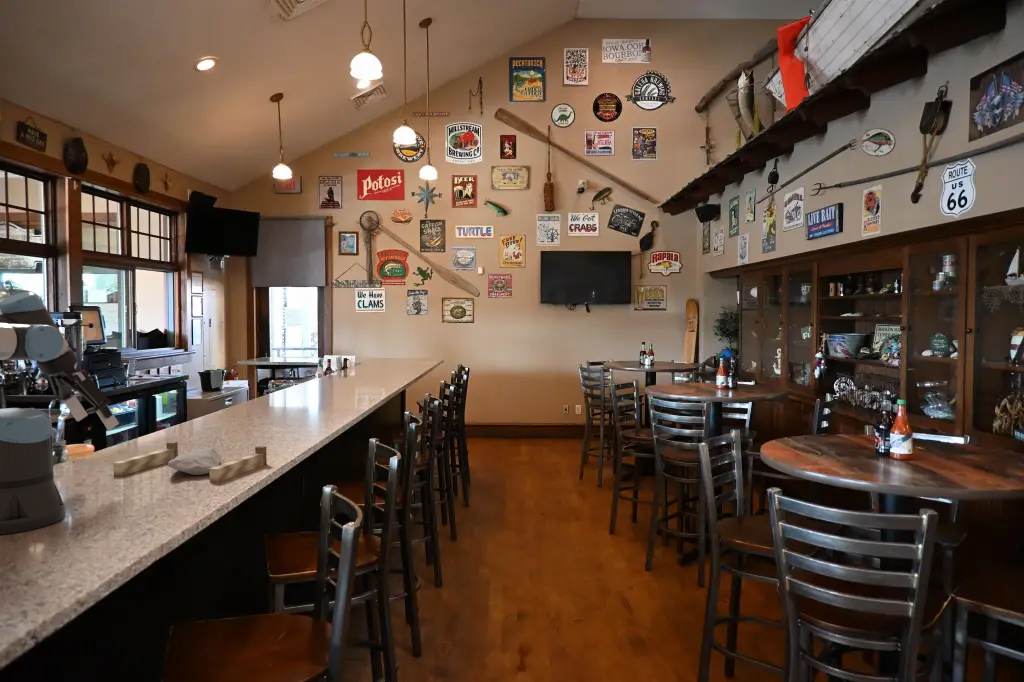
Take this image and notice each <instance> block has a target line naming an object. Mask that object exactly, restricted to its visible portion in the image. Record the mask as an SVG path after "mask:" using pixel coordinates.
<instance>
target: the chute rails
mask: <svg viewBox="0 0 1024 682" xmlns="http://www.w3.org/2000/svg"><path fill="white" fill-rule="evenodd" d="M165 444H166V448H164V449H163V448H162V449H160V450H156V451H151V452H148V453H145V454H144V453H143V454H141V455H136V456H134V457H130V458H125V459H121V460H119V461H114V462H113V463H112V464H113V465H112V467H113V476H115V477H122V476H123V477H124V476H126V475H130V474H132V473H136V472H139V471H144V470H146V469H149V468H153V467H156V466H159V465H163V464H166V463H167V464H168V462H169V461H171V460H172V459H175V458H176V457H177V456H179V450H178V449H179V447H178V446H179V445H178V441H168V442H166V443H165ZM254 451H255V452H254V453H251V454H248V455H245V456H243V457H240V458H236V459H233V460H230V461H227V462H225V463H222V464H219V465H218V466H215V467H212V468H209V472H210V473H209V483H220V482H223V481H225V480H226V481H227V480H228V479H231V478H234V477H236V476H237V477H238V476H239V475H241V474H245V473H246V472H249V471H252V470H255V469H258V468H260V467H264V466H266V465H268V463H267V462H268V461H267V446H265V445H263V446H262V445H257V446H255V447H254Z"/></svg>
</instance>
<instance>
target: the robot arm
mask: <svg viewBox="0 0 1024 682" xmlns="http://www.w3.org/2000/svg"><path fill="white" fill-rule="evenodd" d="M5 360H6V361H35V362H36V365H37V366H38V367H39V369H40V370H41V372H42V373H43V374H44V375H46V376H47V379H48V381H49V384H50V386H51V389H52V392H53V396H55V397H56V398H59V399H60V400H61V401H63V404H64V405H66V407H67V409H68V410H69V413H71V415H72V416H73V418H74V419H75V421H76V422H80V421H81V420H83V419H84V418H86V417H88V416H89V415H88V413H87V411H86V410H85V408H84V406H83V405H82V404H81V402H80V400H79V399H78V397H77V396H76V395H75V392H78V393H79V394H80V395H81V397H84V399H86V400H87V402H89V404H90V405H92V406H93V407H94V408H93V412H96V414H97V415H98V417H99V419H100V420H101V421H102V423H103V424H104V427H105V428H106V429H107V431H111V430H112V429H114V428H115V427H116V426H118V425H119V424H120V422H119V421H118V419H117V418H116V416H115V415H114V413H113V412H112V410H111V408H110V407H109V404H111V403H112V402H111V400H110V399H109V397H107V395H105V394H104V393H103V391H102V390H101V389H100V388H99V387H98V386H97V384H96V383H95V382H94V381H93V380H92V379H91V378H90V377H89V376H88V374H87V373H86V371H85V370H80V371H79V370H78V369H76V368H75V365H76V364H77V362H78V357H77V355H76V354H75V352H74V351H73V349H72V348H71V347H69V343H68V341H67V340H66V339H65V333H64V332H61V331H60V329H59V327H58V325H57V324H56V322H55V321H54V319H53V317H52V315H51V314H50V312H49V311H48V310H47V307H46V306H45V304H44V303H43V301H42V300H41V299H40V298H39V296H38V295H37V294H36V293H34V292H31V291H24V292H19V293H16V294H12V295H10V296H8V297H6V298H4V299H2V301H1V302H0V361H5ZM50 416H51V415H49V414H48V412H45V411H43V410H40V409H35V408H26V407H24V408H20V407H10V408H9V407H8V408H7V407H6V408H0V535H6V534H14V533H20V532H25V531H32V530H36V529H41V528H43V527H46V526H49V525H53V524H54V523H57V522H59V521H61V520H62V519H64V518H65V517H66V505H65V502H64V501H63V498H62V496H61V493H60V492H59V489H58V487H57V485H56V483H55V479H54V477H55V473H54V448H53V447H54V445H53V443H54V441H53V433H54V429H53V426H52V425H53V424H52V418H51V417H50Z"/></svg>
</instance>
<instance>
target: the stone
mask: <svg viewBox="0 0 1024 682" xmlns="http://www.w3.org/2000/svg"><path fill="white" fill-rule="evenodd" d="M221 460H222V456H219V454H218V453H217V451H216V450H215V449H214V448H212V447H205V448H200V449H197V450H194V451H193V450H192V451H188V452H186V453H184V454H182V455H178V456H177V457H176V458H175V459H172V460H171V461H169V462H167V467H169V468H172V469H174V470H177V471H180V472H183V473H186V474H189V475H193V476H200V475H201V476H202V475H206V474H210V472H209V468H212V467H215V466H218V465H220V462H221Z"/></svg>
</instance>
